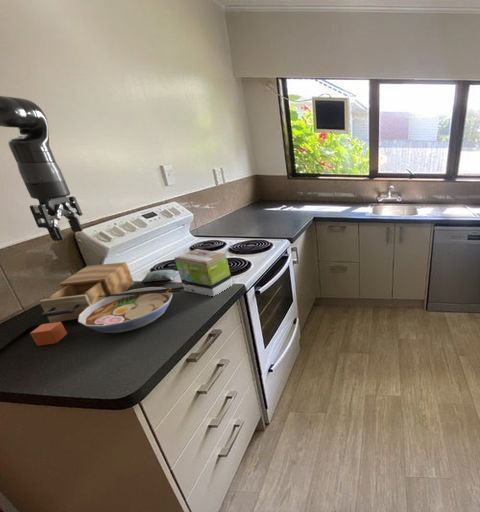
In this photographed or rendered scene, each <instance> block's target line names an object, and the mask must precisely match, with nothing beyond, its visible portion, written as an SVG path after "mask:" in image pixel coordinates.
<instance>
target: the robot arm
mask: <svg viewBox="0 0 480 512" xmlns="http://www.w3.org/2000/svg"><path fill="white" fill-rule="evenodd" d="M0 127H1V128H2V127H4V128H13V129H14V128H15V129H17V130H18V136H17V137H13V138H11V139H10V140H8V142H7V143H8V147H9V150H10V153H11V154H12V157H13V158H14V160H15V162H16V165H17V169H18V173H19V175H20V177H21V179H22V181H23V183H24V186H25V187H26V190H27V192H28V194H29V197H30V198H31V199H34V200H37V201H38V204H35V205H33V204H31V205H29V209H30V213H31V214H32V217H33V219H34V221H35V224H36V226H37V228H40V229H46V230H47V232H48V234H49V236H50V238H51V240H52V241H53V242H58V241H59V242H60V241H63V240H65V237H64V234H63V232H62V231H61V227H60V226H59V221H61V220H62V217H65V219H67V223H68V224H69V227H70V230H71V231H72V232H73V233H80V232H82V231H84V229H83V227H82V224H81V222H80V220H79V219H80V216H82V217H83V212H82V209H81V207H80V205H79V203H78V200H77V198H76V197H75V196H74V195H73V196H70V195H71V192H70V189H69V186H68V184H67V181H66V179H65V177H64V175H63V172H62V169H61V168H60V166H59V164H58V162H57V161H56V158H55V156H54V154H53V151H52V149H51V147H50V133H49V122H48V119H47V116H46V114H45V112H44V111H43V109H42V108H41V107H40V106H39V105H37V103H36V102H34V101H32V100H29V99H26V98H22V97H21V98H20V97H13V96H6V95H0ZM42 220H43V221H42Z"/></svg>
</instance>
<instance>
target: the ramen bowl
mask: <svg viewBox="0 0 480 512" xmlns="http://www.w3.org/2000/svg"><path fill="white" fill-rule="evenodd" d="M183 290H184V287H183V286H178V287H170V288H166V287H163V286H160V287H159V286H149V287H140V288H134V289H130V290H127V291H125V292H122V293H118V294H112V295H111V296H110V297H108V296H109V295H102V296H100V297H107V298H105V299H102V300H100V301H98V302H96V303H94V304H92V305H91V306H89V307H87V308H86V309H85V310H84V311H83V312H82V313H81V314H80V315H79V319H77V322H78V323H79V324H81V325H83V326H85V327H87V328H89V329H91V330H94V331H95V332H99V333H111V334H119V333H124V332H125V333H126V332H130V331H134V330H137V329H140V328H143V327H145V326H147V325H149V324H151V323H153V322H154V321H156V320H157V319H159V318H160V317H161V316H162V315H163V314H164V313H165V312H166V310H167V309H168V307H169V305H170V304H171V301H172V300H173V293H181V292H182V291H183Z"/></svg>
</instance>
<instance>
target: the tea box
mask: <svg viewBox="0 0 480 512" xmlns="http://www.w3.org/2000/svg"><path fill="white" fill-rule="evenodd" d="M174 262H175V265H176V269H177V271H178V272H179V274H178V276H179V278H180V281H181V286H182V287H184V289H183V290H184V292H189V293H192V294H198V295H202V296H207V295H208V296H207V297H211V296H213V297H212V298H215V297H216V296H215V295H217V294H218V295H220V294H222V293H223V292H225V291H227V290H228V289H230V288H231V287H233V286H232V285H234V284H233V279H232V275H231V271H230V266H229V261H228V256H227V253H225V252H220V251H212V250H207V249H199V248H195V249H192V250H190V251H188V252H185V253H183V254H180V255H178V256H175V257H174ZM230 286H231V287H230ZM229 287H230V288H229ZM227 288H228V289H227ZM226 289H227V290H226ZM224 290H225V291H224ZM222 291H223V292H222ZM221 292H222V293H221ZM219 293H220V294H219ZM218 295H217V296H218ZM214 296H215V297H214Z"/></svg>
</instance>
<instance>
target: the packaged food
mask: <svg viewBox="0 0 480 512" xmlns="http://www.w3.org/2000/svg"><path fill="white" fill-rule="evenodd" d="M177 276H179V272H178V270H174V269H160V270H159V269H158V270H153V271H149V272H148V273H147V274H146V275H145V276H144V278H143V279H142V280H141V281H139V284H142V285H145V286H155V285H164V284H169V283H171V282H175V280H174V279H175V278H176V277H177Z"/></svg>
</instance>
